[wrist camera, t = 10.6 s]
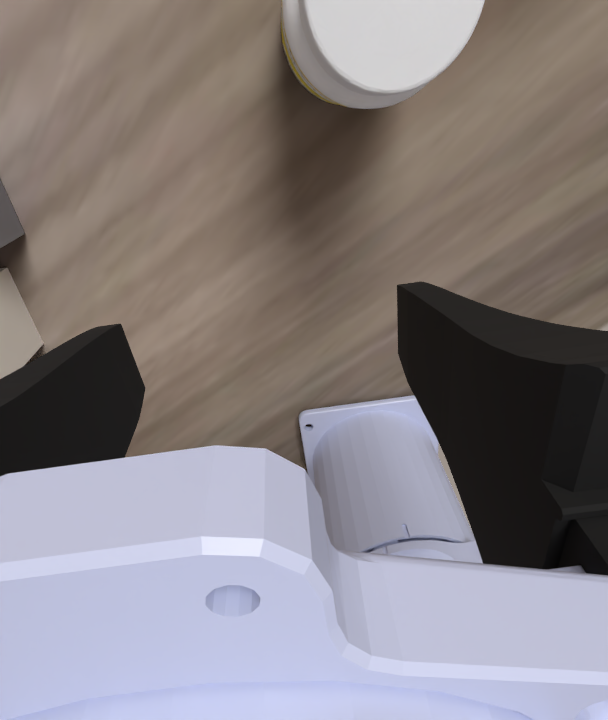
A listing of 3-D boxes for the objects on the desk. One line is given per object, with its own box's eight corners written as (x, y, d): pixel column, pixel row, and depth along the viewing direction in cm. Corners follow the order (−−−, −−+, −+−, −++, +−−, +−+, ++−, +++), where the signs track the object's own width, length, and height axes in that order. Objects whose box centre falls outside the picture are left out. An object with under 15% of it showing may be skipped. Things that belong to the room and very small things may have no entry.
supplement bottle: (422, -43, 16) (550, -156, 8) (393, 111, 18) (474, 125, 11) (284, -66, 15) (296, -206, 8) (274, 96, 17) (275, 101, 10)
